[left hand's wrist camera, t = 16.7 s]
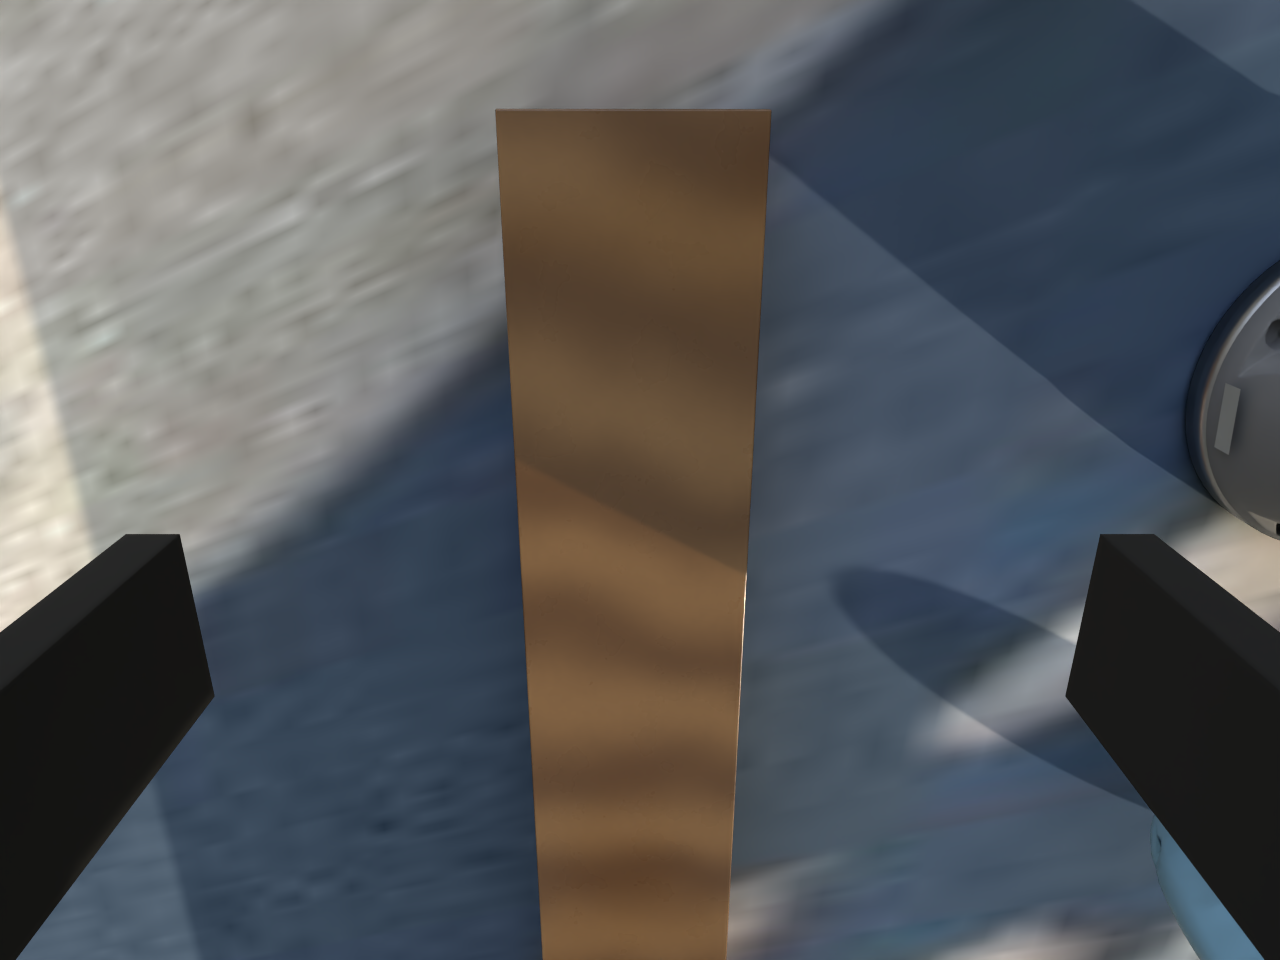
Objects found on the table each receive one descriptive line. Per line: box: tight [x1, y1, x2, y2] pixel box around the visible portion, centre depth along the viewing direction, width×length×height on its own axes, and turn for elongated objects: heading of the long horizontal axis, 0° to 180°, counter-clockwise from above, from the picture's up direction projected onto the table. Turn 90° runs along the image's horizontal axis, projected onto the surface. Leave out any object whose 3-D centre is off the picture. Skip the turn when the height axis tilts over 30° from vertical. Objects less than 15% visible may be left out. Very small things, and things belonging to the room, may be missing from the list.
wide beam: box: [495, 109, 771, 960], centre depth 48 cm, size 84×9×7 cm, turn 0°
